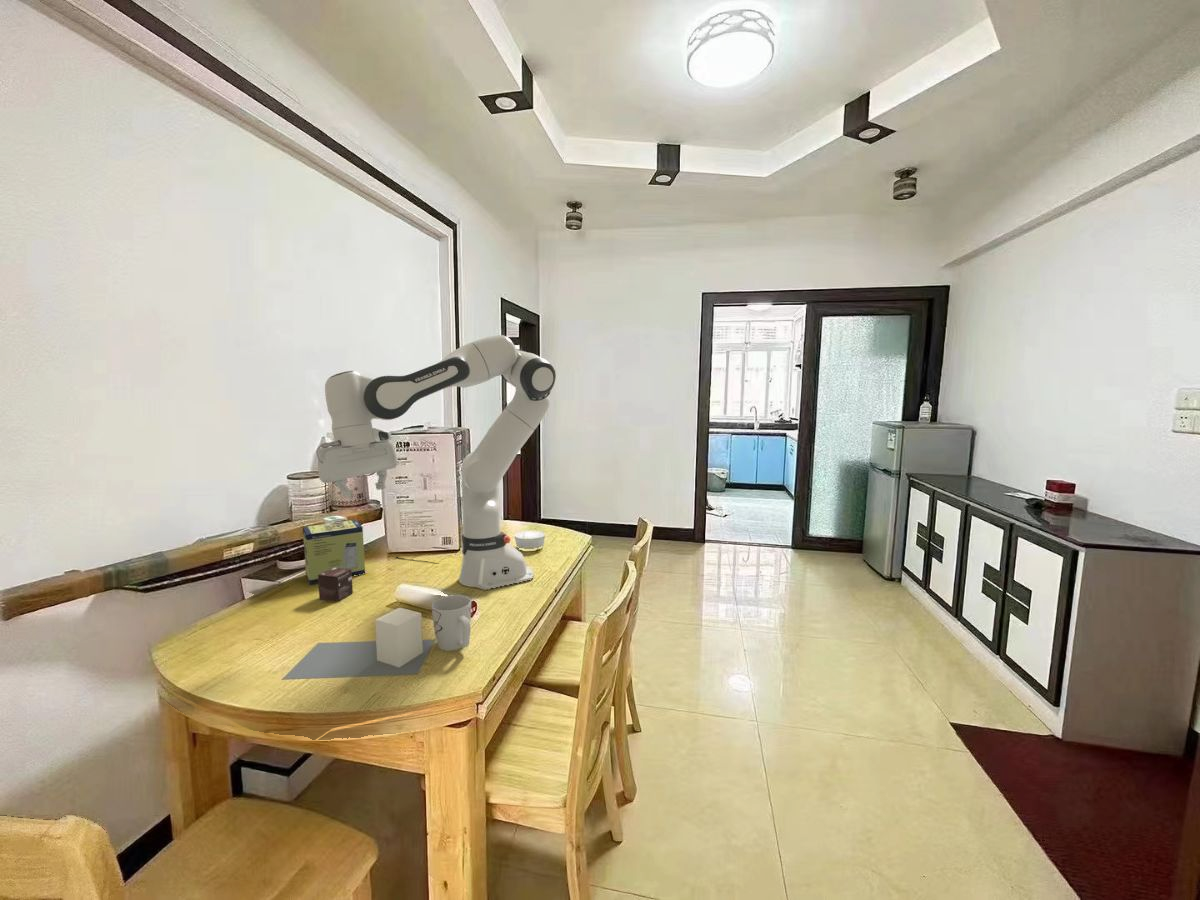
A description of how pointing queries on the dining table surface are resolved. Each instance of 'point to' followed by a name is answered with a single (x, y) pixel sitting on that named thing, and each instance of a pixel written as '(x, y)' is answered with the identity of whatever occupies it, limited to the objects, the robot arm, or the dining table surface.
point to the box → (335, 584)
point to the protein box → (333, 548)
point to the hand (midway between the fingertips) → (365, 493)
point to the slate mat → (352, 661)
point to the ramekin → (530, 539)
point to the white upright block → (399, 636)
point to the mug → (452, 621)
